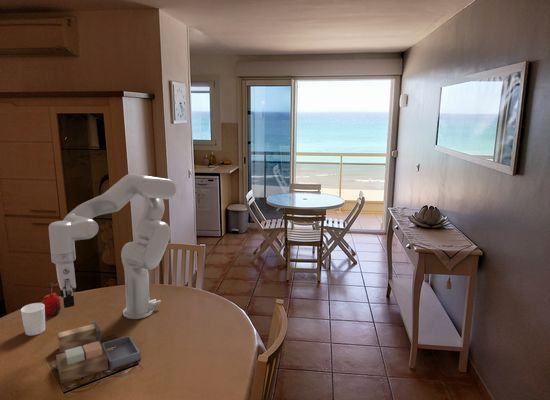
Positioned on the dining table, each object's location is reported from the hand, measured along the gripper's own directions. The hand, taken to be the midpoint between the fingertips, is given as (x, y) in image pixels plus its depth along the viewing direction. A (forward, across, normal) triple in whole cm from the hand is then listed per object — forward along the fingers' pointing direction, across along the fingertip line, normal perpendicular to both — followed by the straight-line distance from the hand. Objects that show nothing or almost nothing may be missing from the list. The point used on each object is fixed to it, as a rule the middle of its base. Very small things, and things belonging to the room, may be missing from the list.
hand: (67, 301), depth 143 cm
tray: (+18, -16, -14) cm, 27 cm away
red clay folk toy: (+18, +30, +4) cm, 35 cm away
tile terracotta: (+14, -16, -5) cm, 22 cm away
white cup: (+18, +17, +10) cm, 27 cm away
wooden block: (+18, -16, -1) cm, 24 cm away
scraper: (+18, -1, -2) cm, 18 cm away
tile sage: (+14, -16, +1) cm, 21 cm away
